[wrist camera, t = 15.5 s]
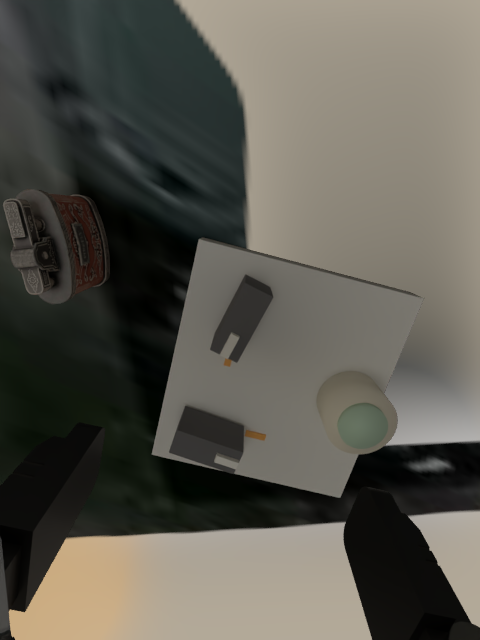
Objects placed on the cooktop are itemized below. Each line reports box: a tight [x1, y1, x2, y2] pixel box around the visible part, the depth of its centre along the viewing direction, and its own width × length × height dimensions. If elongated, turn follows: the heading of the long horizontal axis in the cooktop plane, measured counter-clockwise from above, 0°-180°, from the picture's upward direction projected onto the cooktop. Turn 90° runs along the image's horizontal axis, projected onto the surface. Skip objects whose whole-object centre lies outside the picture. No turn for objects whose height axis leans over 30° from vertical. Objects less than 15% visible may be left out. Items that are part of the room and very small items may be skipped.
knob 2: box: [210, 274, 273, 363], centre depth 29 cm, size 2×6×4 cm, turn 153°
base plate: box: [152, 237, 424, 498], centre depth 32 cm, size 20×22×7 cm
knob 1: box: [169, 406, 244, 474], centre depth 32 cm, size 2×6×4 cm, turn 69°
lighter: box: [3, 189, 110, 304], centre depth 27 cm, size 8×3×10 cm, turn 6°
